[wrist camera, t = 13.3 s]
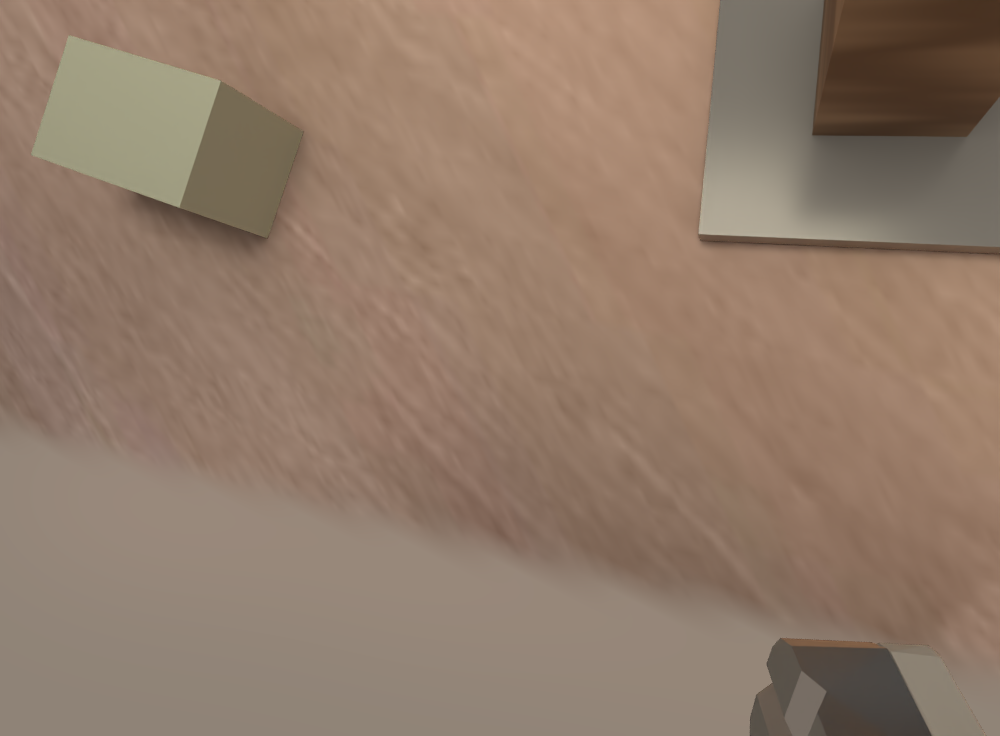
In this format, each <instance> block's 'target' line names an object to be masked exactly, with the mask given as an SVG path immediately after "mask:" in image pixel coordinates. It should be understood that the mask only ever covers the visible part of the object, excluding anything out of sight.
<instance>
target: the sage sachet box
mask: <svg viewBox="0 0 1000 736" xmlns="http://www.w3.org/2000/svg"><path fill="white" fill-rule="evenodd" d="M303 132H304V131H302V130H300V129H299V128H297V127H295V126H294V125H292V124H291V123H289V122H287V121H286V120H284V119H282V118H281V117H279V116H278V115H276V114H274V113H273V112H271V111H269V110H268V109H266V108H265V107H263V106H261V105H260V104H258V103H256V102H255V101H253V100H252V99H250V98H248V97H247V96H245V95H243V94H242V93H240V92H239V91H237V90H235V89H234V88H232V87H230V86H229V85H227V84H226V83H224V82H222V81H220V80H217V79H214V78H210V77H207V76H204V75H200V74H197V73H194V72H190V71H187V70H183V69H180V68H177V67H173V66H170V65H167V64H163V63H160V62H157V61H153V60H150V59H147V58H143V57H140V56H137V55H133V54H130V53H127V52H123V51H120V50H117V49H113V48H110V47H107V46H103V45H100V44H97V43H93V42H90V41H87V40H83V39H80V38H77V37H73V36H70V35H69V36H68V40H67V43H66V46H65V49H64V52H63V55H62V59H61V62H60V65H59V68H58V71H57V74H56V77H55V81H54V84H53V87H52V90H51V93H50V96H49V100H48V103H47V106H46V109H45V112H44V115H43V118H42V122H41V125H40V128H39V131H38V134H37V137H36V141H35V144H34V147H33V150H32V153H31V155H32V156H35V157H38V158H41V159H44V160H46V161H49V162H52V163H55V164H58V165H60V166H63V167H66V168H69V169H72V170H74V171H77V172H80V173H83V174H86V175H88V176H91V177H94V178H97V179H100V180H102V181H105V182H108V183H111V184H114V185H117V186H119V187H122V188H125V189H128V190H131V191H133V192H136V193H139V194H142V195H145V196H147V197H150V198H153V199H156V200H159V201H161V202H164V203H167V204H170V205H173V206H175V207H178V208H181V209H184V210H187V211H190V212H193V213H195V214H198V215H201V216H204V217H207V218H210V219H213V220H216V221H219V222H221V223H224V224H227V225H230V226H233V227H236V228H239V229H242V230H244V231H247V232H250V233H253V234H256V235H259V236H262V237H265V238H268V236H269V233H270V230H271V227H272V224H273V221H274V218H275V215H276V212H277V209H278V206H279V203H280V200H281V197H282V194H283V191H284V189H285V186H286V183H287V180H288V177H289V174H290V171H291V168H292V165H293V162H294V159H295V156H296V153H297V150H298V147H299V144H300V141H301V138H302V135H303Z"/></svg>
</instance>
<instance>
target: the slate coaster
mask: <svg viewBox="0 0 1000 736" xmlns="http://www.w3.org/2000/svg"><path fill="white" fill-rule="evenodd" d="M823 8H824V0H720V9H719V20H718V31H717V41H716V52H715V63H714V73H713V84H712V95H711V106H710V116H709V127H708V138H707V148H706V159H705V170H704V180H703V191H702V202H701V213H700V223H699V238H700V240H702V241H724V242H746V243H768V244H791V245H813V246H835V247H857V248H879V249H902V250H924V251H946V252H968V253H991V254H1000V97H999V98H998V99H997V101H996V102H995V103H994V104H993V106H992V107H991V108H990V109H989V110H988V112H987V113H986V114H985V115H984V117H983V118H982V119H981V120H980V121H979V123H978V124H977V125H976V126H975V128H974V129H973V130H972V131H971V132H970V134H969V135H968V136H967V137H927V136H820V135H812V131H813V119H814V108H815V97H816V86H817V75H818V64H819V53H820V42H821V31H822V19H823Z"/></svg>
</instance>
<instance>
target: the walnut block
mask: <svg viewBox="0 0 1000 736" xmlns="http://www.w3.org/2000/svg"><path fill="white" fill-rule="evenodd" d="M999 97H1000V0H824V8H823V19H822V31H821V42H820V53H819V64H818V75H817V86H816V97H815V108H814V119H813V131H812V135H820V136H927V137H967V136H968V135H969V134H970V132H971V131H972V130H973V129H974V128H975V126H976V125H977V124H978V123H979V121H980V120H981V119H982V118H983V117H984V115H985V114H986V113H987V112H988V110H989V109H990V108H991V107H992V106H993V104H994V103H995V102H996V101H997V99H998V98H999Z"/></svg>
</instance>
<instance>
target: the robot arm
mask: <svg viewBox="0 0 1000 736" xmlns="http://www.w3.org/2000/svg"><path fill="white" fill-rule="evenodd" d="M767 667H768V670H769V673H770V676H771V679H772V682H773V683H772V684H770V685H769V686H767V687H766V688H765V689H763V690H762V691H761V692H759V693H758V694H757V695H756V699H755V702H754V706H753V710H752V713H751V717H750V736H986V735H985V733H984V731H983V729H982V728H981V726H980V724H979V723H978V721H977V719H976V718H975V716H974V714H973V712H972V711H971V709H970V707H969V705H968V704H967V702H966V700H965V698H964V697H963V695H962V693H961V691H960V690H959V688H958V686H957V685H956V683H955V681H954V679H953V678H952V676H951V674H950V672H949V671H948V669H947V667H946V666H945V664H944V662H943V660H942V659H941V657H940V655H939V654H938V653H937V652H936V651H934V650H933V649H932V648H931V647H930V646H928V645H911V644H891V643H877V644H875V643H872V642H853V641H832V640H811V639H789V638H780V639H779V640H778V641H777V642H776V643H775V645H774V646H773V647H772V650H771V653H770V656H769V658H768V661H767Z"/></svg>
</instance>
